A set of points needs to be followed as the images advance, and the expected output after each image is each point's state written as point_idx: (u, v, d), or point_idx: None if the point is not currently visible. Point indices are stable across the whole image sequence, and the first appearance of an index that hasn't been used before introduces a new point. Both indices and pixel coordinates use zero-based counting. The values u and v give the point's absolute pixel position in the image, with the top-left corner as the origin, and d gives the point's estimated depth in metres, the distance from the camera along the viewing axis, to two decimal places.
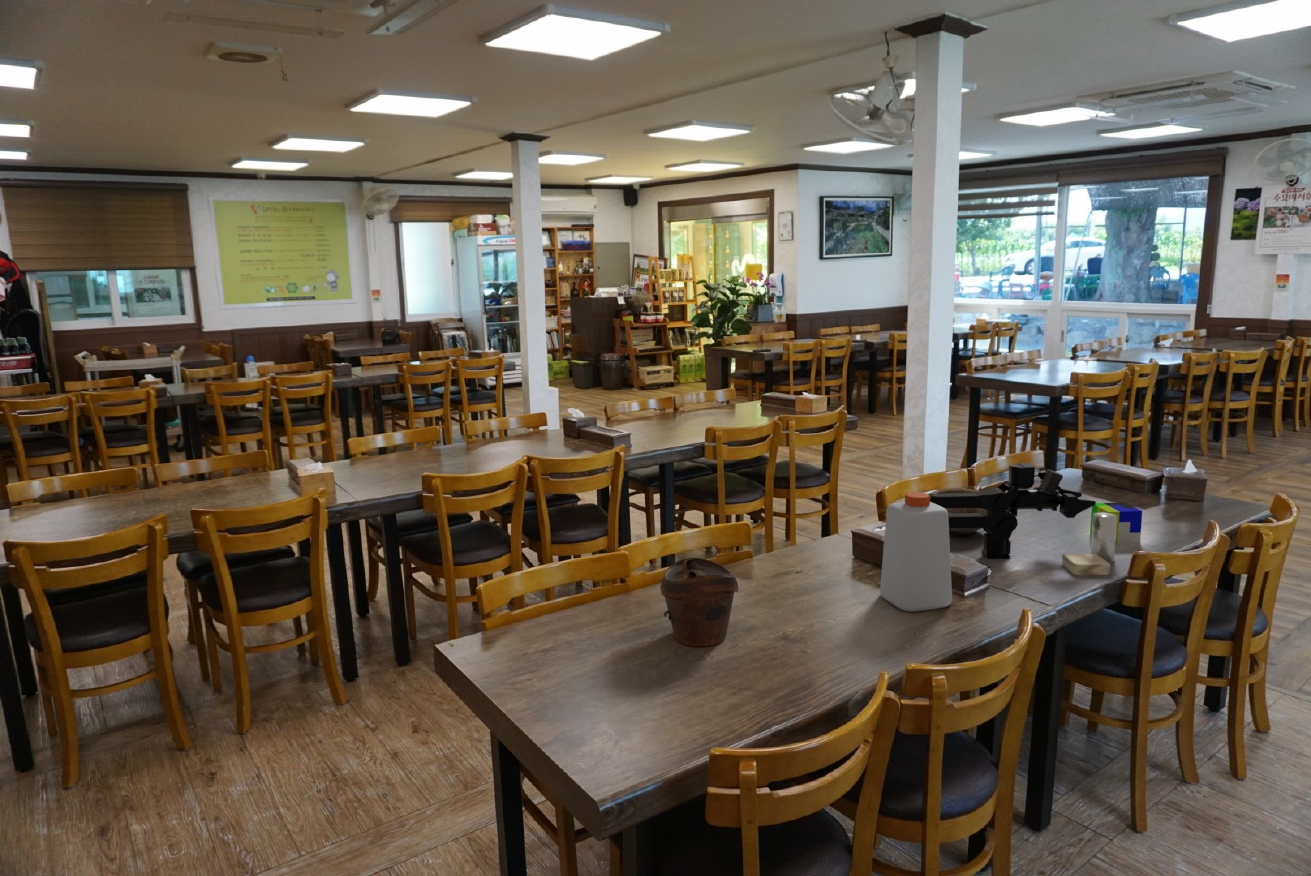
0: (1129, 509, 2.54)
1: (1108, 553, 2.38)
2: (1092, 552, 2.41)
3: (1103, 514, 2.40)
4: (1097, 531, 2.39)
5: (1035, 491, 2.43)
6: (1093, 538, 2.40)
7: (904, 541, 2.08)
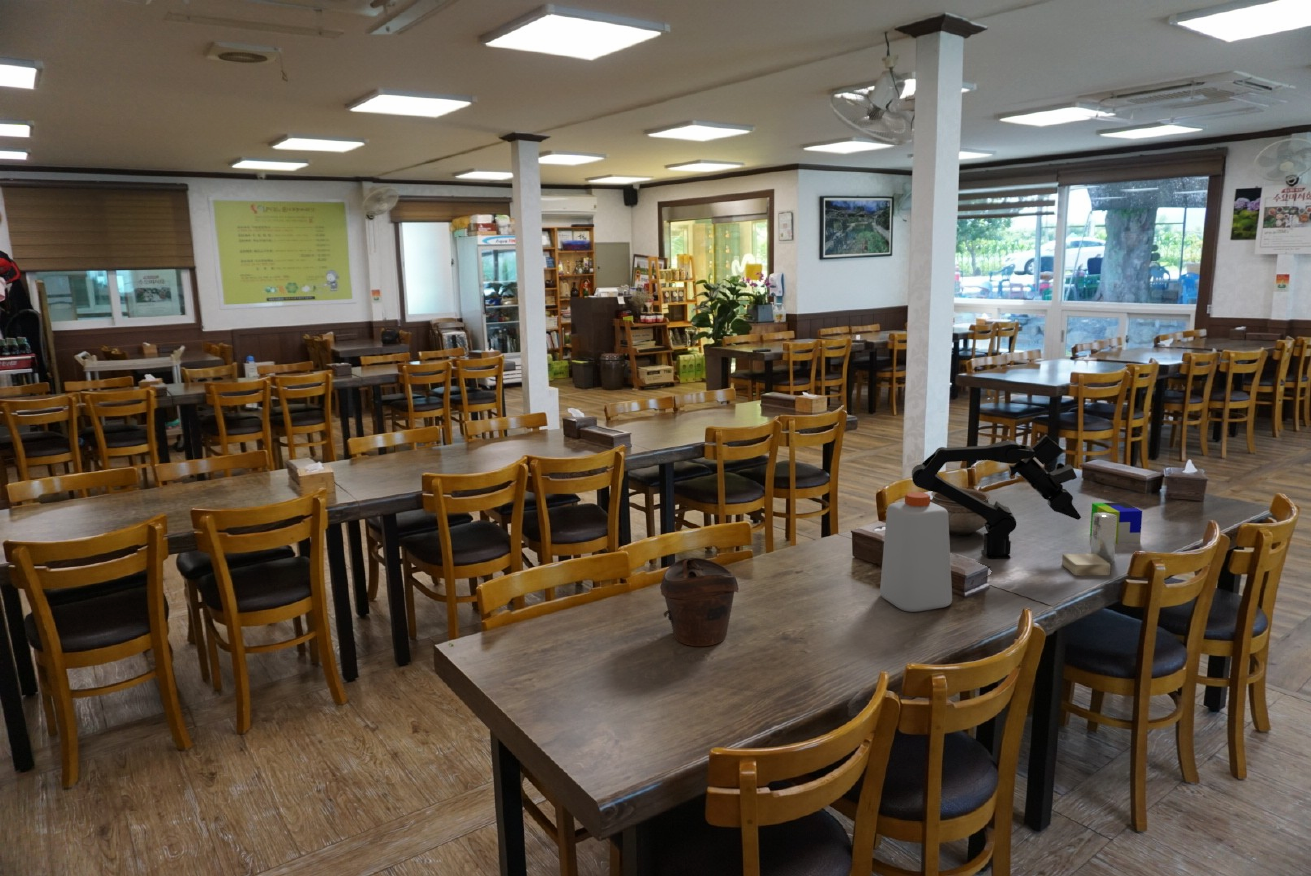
0: (1129, 509, 2.54)
1: (1108, 553, 2.38)
2: (1092, 552, 2.41)
3: (1103, 514, 2.40)
4: (1097, 531, 2.39)
5: (1044, 471, 2.40)
6: (1093, 538, 2.40)
7: (904, 541, 2.08)
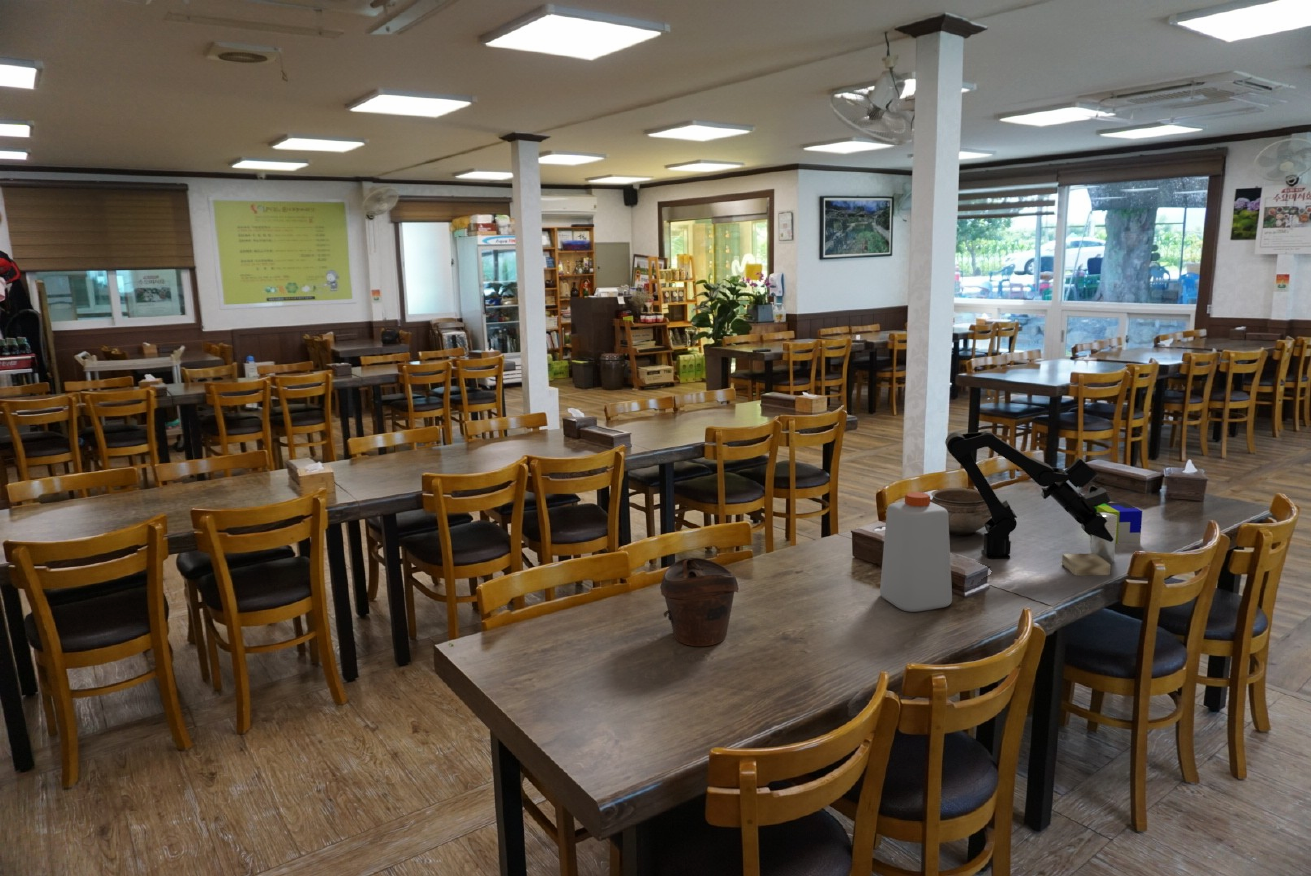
0: (1129, 509, 2.54)
1: (1108, 553, 2.38)
2: (1092, 552, 2.41)
3: (1103, 514, 2.40)
4: None
5: (1077, 494, 2.39)
6: (1093, 538, 2.40)
7: (904, 541, 2.08)
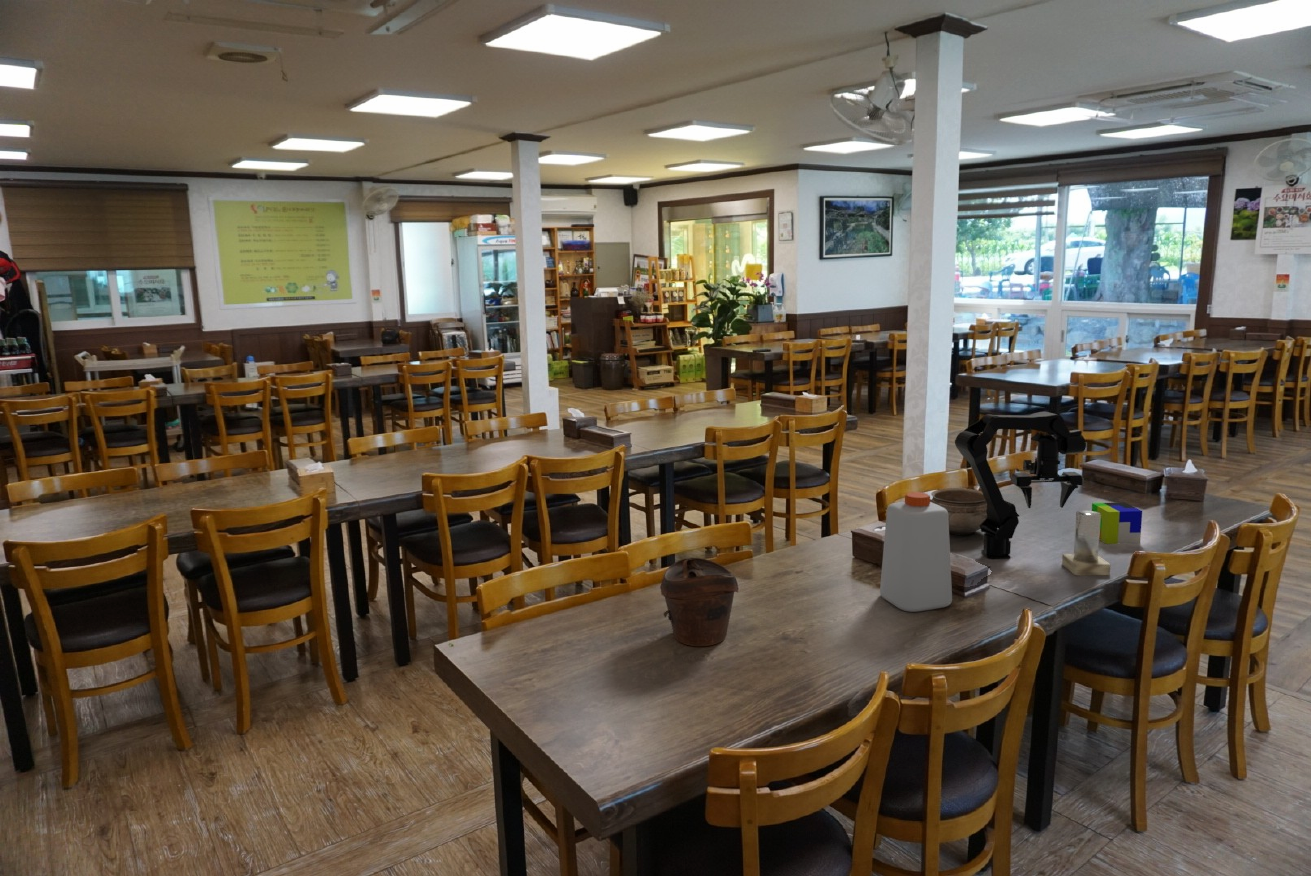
0: (1129, 509, 2.54)
1: (1091, 552, 2.30)
2: (1075, 551, 2.33)
3: (1086, 512, 2.32)
4: (1080, 530, 2.31)
5: None
6: (1076, 537, 2.32)
7: (904, 541, 2.08)
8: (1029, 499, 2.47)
